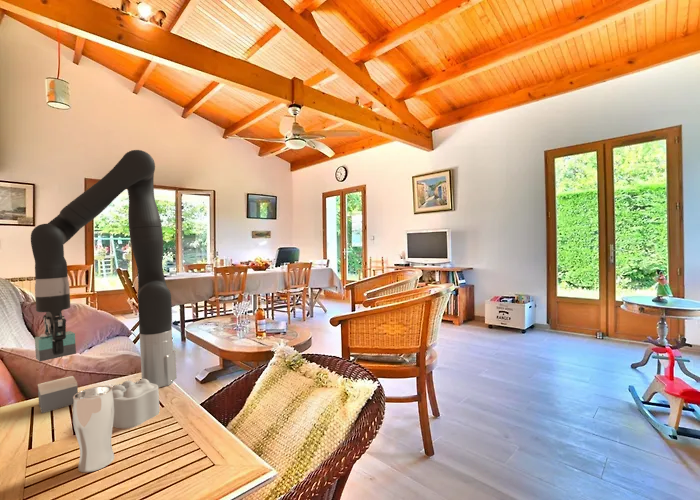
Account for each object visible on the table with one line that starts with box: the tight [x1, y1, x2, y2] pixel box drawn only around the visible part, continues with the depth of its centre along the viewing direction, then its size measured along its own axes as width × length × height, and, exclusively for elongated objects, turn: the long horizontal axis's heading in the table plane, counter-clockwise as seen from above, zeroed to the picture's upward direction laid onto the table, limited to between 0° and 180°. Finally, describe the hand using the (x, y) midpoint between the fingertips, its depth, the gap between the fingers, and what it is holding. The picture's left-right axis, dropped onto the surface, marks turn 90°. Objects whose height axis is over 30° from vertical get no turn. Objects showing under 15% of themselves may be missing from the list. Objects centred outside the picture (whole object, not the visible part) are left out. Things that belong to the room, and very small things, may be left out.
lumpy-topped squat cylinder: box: [111, 378, 161, 430], centre depth 91 cm, size 10×13×9 cm
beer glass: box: [72, 385, 115, 474], centre depth 72 cm, size 7×7×15 cm
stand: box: [37, 375, 79, 414], centre depth 100 cm, size 8×8×6 cm
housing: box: [34, 330, 77, 362], centre depth 99 cm, size 5×8×7 cm, turn 142°
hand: (56, 352), depth 99 cm, fingers closed on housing, 5 cm apart
